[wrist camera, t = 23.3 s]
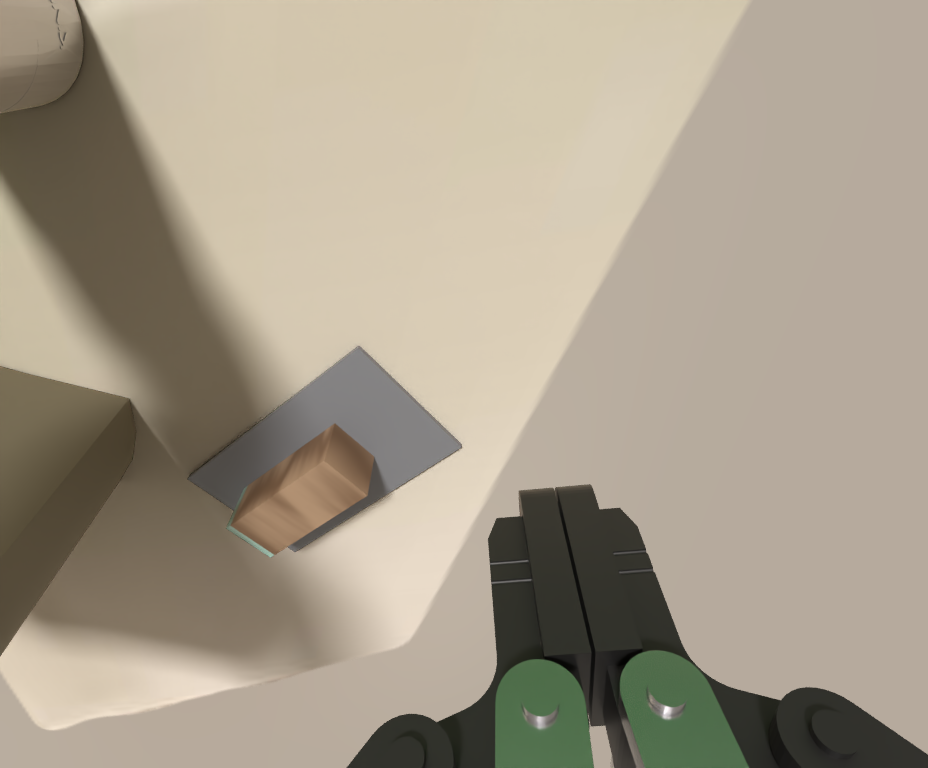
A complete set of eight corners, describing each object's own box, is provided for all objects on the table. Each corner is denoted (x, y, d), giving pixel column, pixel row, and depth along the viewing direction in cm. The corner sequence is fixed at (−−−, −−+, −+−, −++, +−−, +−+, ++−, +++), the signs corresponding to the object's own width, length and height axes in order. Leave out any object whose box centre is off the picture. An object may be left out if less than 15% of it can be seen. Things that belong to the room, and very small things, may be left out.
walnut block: (374, 456, 45) (284, 516, 49) (334, 423, 43) (244, 488, 47) (367, 495, 41) (270, 557, 45) (324, 460, 39) (226, 528, 43)
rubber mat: (296, 548, 52) (295, 552, 51) (189, 475, 46) (187, 479, 46) (461, 444, 45) (461, 447, 45) (358, 345, 40) (358, 348, 40)
